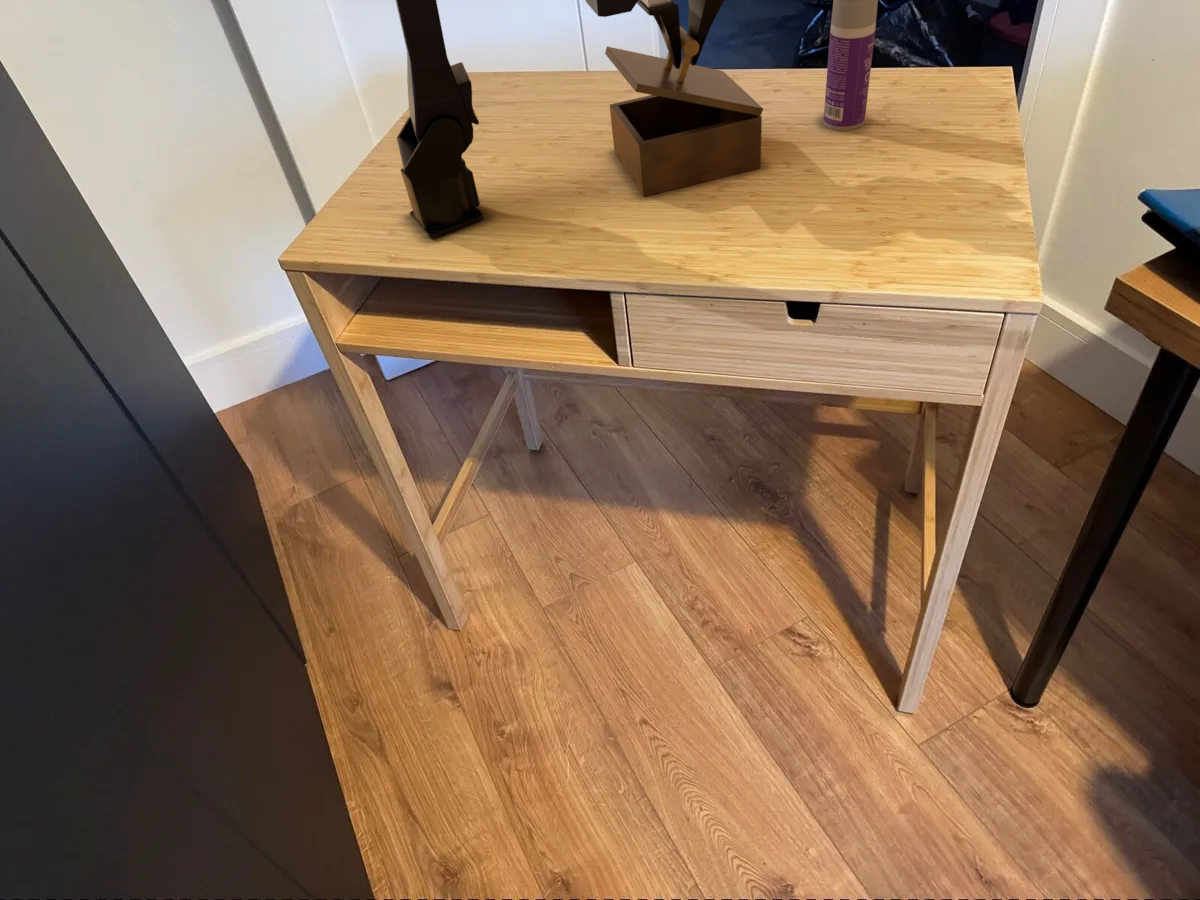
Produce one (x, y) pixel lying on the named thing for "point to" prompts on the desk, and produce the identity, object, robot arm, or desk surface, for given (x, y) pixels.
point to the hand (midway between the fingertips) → (685, 65)
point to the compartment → (682, 142)
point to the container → (849, 63)
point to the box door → (682, 78)
